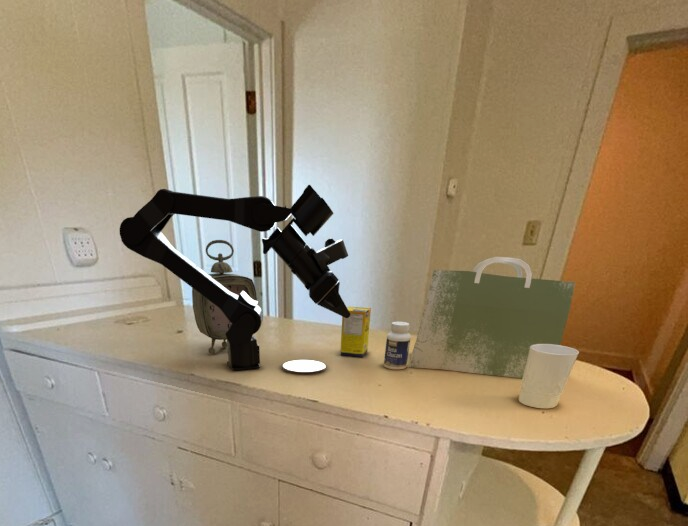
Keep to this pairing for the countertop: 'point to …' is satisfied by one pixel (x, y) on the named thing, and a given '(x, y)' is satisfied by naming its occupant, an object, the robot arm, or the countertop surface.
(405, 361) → the pill bottle
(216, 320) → the tabletop clock
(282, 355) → the countertop surface
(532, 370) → the white cup
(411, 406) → the countertop surface
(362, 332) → the supplement box
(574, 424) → the countertop surface
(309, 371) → the white disc
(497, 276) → the grocery bag
